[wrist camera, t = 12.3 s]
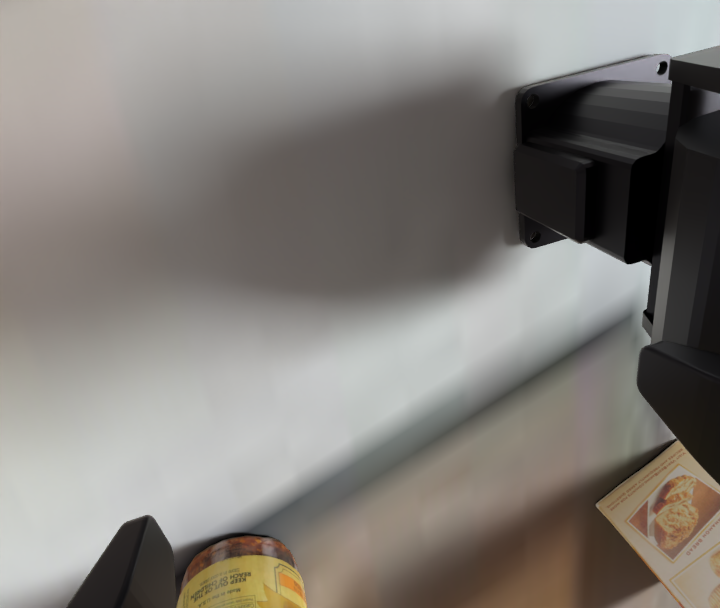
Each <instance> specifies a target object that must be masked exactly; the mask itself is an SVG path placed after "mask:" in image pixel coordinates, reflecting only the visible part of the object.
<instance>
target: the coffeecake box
mask: <svg viewBox="0 0 720 608" xmlns="http://www.w3.org/2000/svg"><path fill="white" fill-rule="evenodd" d="M596 507H597V508H598V509H599V510H600V511H601V512H602V513H603V514H604V516H605V517H606V518H607V519H608V520H609V521H610V522H611V523H612V525H613V526H614V527H615V528H616V529H617V530H618V532H619V533H620V534H621V535H622V536H623V537H624V539H625V540H626V541H627V542H628V543H629V544H630V546H631V547H632V548H633V549H634V550H635V552H636V553H637V554H638V555H639V556H640V558H641V559H642V560H643V561H644V562H645V564H646V565H647V566H648V567H649V568H650V570H651V571H652V572H653V573H654V574H655V576H656V577H657V578H658V579H659V580H660V582H661V583H662V584H663V585H664V586H665V588H666V589H667V590H668V591H669V592H670V594H671V595H672V596H673V597H674V598H675V600H676V601H677V602H678V603H679V604H680V606H681V607H682V608H720V485H719V484H718V483H717V482H716V481H715V480H714V479H713V478H712V477H711V476H710V475H709V474H708V473H707V472H706V471H705V470H704V469H703V468H702V467H701V466H700V465H699V464H698V462H697V461H696V460H695V459H694V458H693V457H692V456H691V454H690V453H689V452H688V451H687V450H686V449H685V447H684V446H683V445H682V444H681V442H680V441H679V440H677V441H676V442H674V443H673V444H672V445H671V446H670V447H668V448H667V449H666V450H665V451H663V452H662V453H661V454H660V455H659V456H657V457H656V458H655V459H654V460H653V461H651V462H650V463H649V464H647V465H646V466H644V467H643V468H642V469H641V470H639V471H638V472H637V473H635V474H634V475H632V476H631V477H630V478H628V479H627V480H626V481H624V482H623V483H621V484H620V485H619V486H617V487H616V488H615V489H614V490H612V491H611V492H610V493H609V494H608V495H606V496H605V497H604V498H603V499H601V500H600V501H599V502H598V503H596Z"/></svg>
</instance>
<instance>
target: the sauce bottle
mask: <svg viewBox="0 0 720 608" xmlns="http://www.w3.org/2000/svg"><path fill="white" fill-rule="evenodd" d="M177 608H307V604H306V598H305V592H304V585H303V581H302V578H301V576H300V574H299V572H298V567H297V564H296V562H295V559H294V558H293V556H292V554H291V553H290V550H288V549H287V548H286V547H285V545H284V544H283V543H281V542H280V541H279V540H277V539H274V538H272V537H264V538H263V537H260V536H249V535H246V536H241V537H234V538H230V539H227V540H222V541H220V542H218V543H216V544H215V545H211V546H209V547H208V548H206V549H205V550H203V551H202V552H200V553H199V554H197V555H196V556H195V557H194V559H193V560H192V562H191V563H190V565H189V566H188V567H187V570H186V573H185V576H184V579H183V582H182V586H181V590H180V596H179V599H178V602H177Z"/></svg>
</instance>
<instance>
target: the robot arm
mask: <svg viewBox="0 0 720 608" xmlns="http://www.w3.org/2000/svg"><path fill="white" fill-rule="evenodd" d="M658 64H660V68H659V71H658V72H657V73H656V68H657V66H658ZM671 81H672V84H671ZM530 95H533V103H532V104H531V106H529V107H528V105H527V99H528V98H529V96H530ZM515 109H516V138H517V147H516V149H515V151H514V171H515V198H516V210H517V211H518V212H519V224H520V240H521V242H522V243H523V244H524V245H526V246H528V247H530V248H537V247H540V246H544V245H547V244H550V243H554V242H557V241H560V240H564V239H567V238H569V239H570V240H572V241H574V242H576V243H578V244H582V243H587V244H589V245H591V246H593V247H595V248H597V249H599V250H601V251H603V252H605V253H607V254H609V255H610V256H612V257H614V258H616V259H618V260H620V261H622V262H624V263H626V264H633V263H637V262H640V261H642V262H644V263H646V264H648V265H650V266H652V267H651V276H650V285H649V294H648V303H647V309H646V310H644V311H643V319H642V326H643V328H644V329H645V330H646V332H647V333H648V335H649V336H650V337H651V344H650V345H647V346H645V347H643V348H642V349H641V351H640V354H639V362H638V371H637V386H638V389H639V391H640V393H641V394H642V396H643V397H644V398H645V399H646V401H647V402H648V403H649V404H650V406H651V407H652V408H653V409H654V411H655V412H656V413H657V414H658V415H659V417H660V418H661V419H662V420H663V422H664V423H665V424H666V425H667V426H668V428H669V429H670V430H671V431H672V433H673V434H674V435H675V436H676V438H677V439H678V440H679V441H680V442H681V444H682V445H683V446H684V447H685V449H686V450H687V451H688V452H689V453H690V454H691V456H692V457H693V458H694V459H695V460H696V461H697V462H698V464H699V465H700V466H701V467H702V468H703V469H704V470H705V471H706V472H707V473H708V474H709V475H710V476H711V477H712V478H713V479H714V480H715V481H716V482H717V483H718V484H719V485H720V46H716V47H712V48H708V49H704V50H700V51H696V52H692V53H688V54H684V55H680V56H676V57H673V58H672V57H671V56H670V55H668V54H654V55H650V56H646V57H642V58H638V59H634V60H630V61H626V62H622V63H618V64H614V65H610V66H606V67H602V68H598V69H594V70H590V71H586V72H582V73H578V74H574V75H570V76H566V77H562V78H558V79H554V80H550V81H546V82H542V83H538V84H534V85H530V86H526V87H524V88H522V89H521V90H520V92H519V93H518V95H517V97H516V102H515ZM534 232H536V234H535V237H534V238H533V239H531V240H530V237H531V235H532V233H534ZM66 608H176V588H175V569H174V556H173V551H172V548H171V545H170V543H169V542H168V540H167V538H166V537H165V535H164V533H163V532H162V530H161V528H160V527H159V525H158V524H157V522H156V520H155V519H154V518H153V517H152V516H150V515H145V516H142V517H139V518H136V519H133V520H130V521H127V522H126V523H124V524H123V525H122V526H121V527H120V529H119V530H118V532H117V533H116V535H115V536H114V538H113V539H112V540H111V542H110V543H109V545H108V546H107V548H106V549H105V551H104V552H103V554H102V555H101V557H100V558H99V560H98V561H97V563H96V564H95V566H94V567H93V569H92V570H91V571H90V573H89V574H88V576H87V577H86V579H85V580H84V582H83V583H82V585H81V586H80V588H79V589H78V591H77V592H76V594H75V595H74V597H73V598H72V600H71V601H70V603H69V604H68V605H67V607H66Z"/></svg>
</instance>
